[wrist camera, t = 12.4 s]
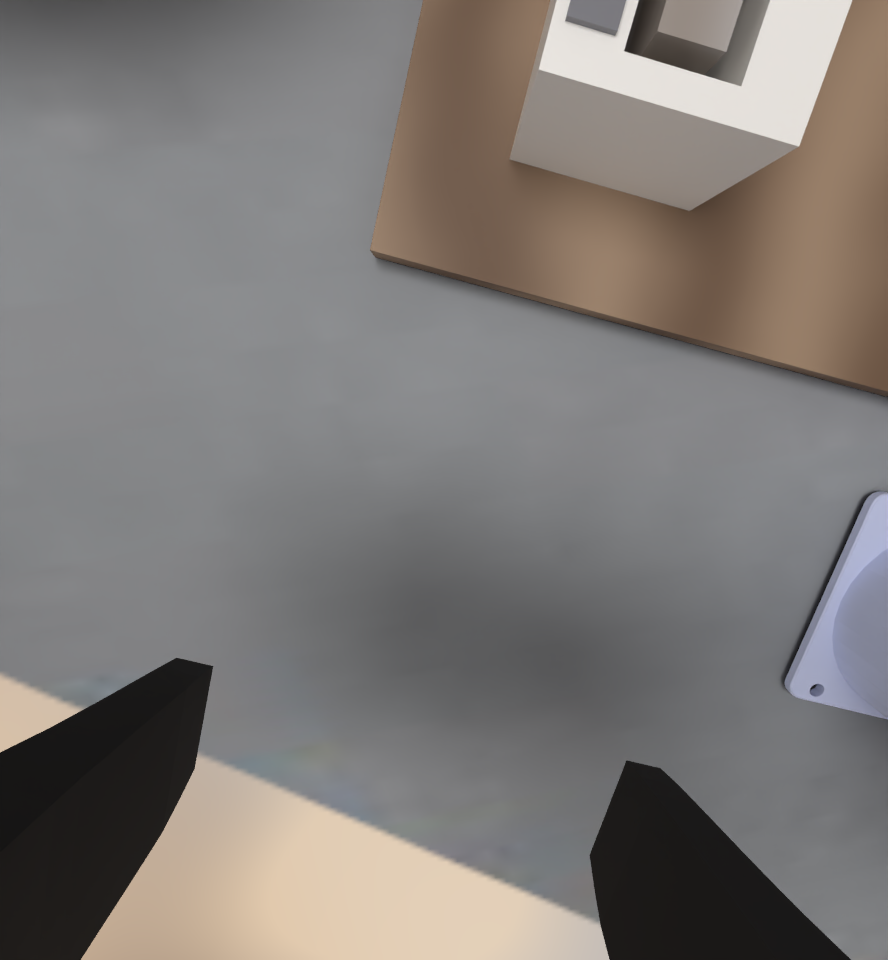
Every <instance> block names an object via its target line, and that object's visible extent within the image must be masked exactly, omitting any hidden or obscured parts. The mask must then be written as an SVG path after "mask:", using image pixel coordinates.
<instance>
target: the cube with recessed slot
mask: <svg viewBox="0 0 888 960" xmlns="http://www.w3.org/2000/svg"><path fill="white" fill-rule="evenodd" d="M638 1H639V0H550V4H549V8H548V11H547V15H546V19H545V23H544V27H543V31H542V35H541V39H540V43H539V46H538V50H537V54H536V58H535V62H534V66H533V70H532V74H531V77H530V81H529V85H528V89H527V93H526V97H525V101H524V105H523V108H522V112H521V116H520V120H519V124H518V128H517V132H516V136H515V140H514V143H513V147H512V151H511V155H510V160H513V161H517V162H520V163H524V164H527V165H531V166H534V167H538V168H541V169H545V170H548V171H552V172H555V173H559V174H562V175H566V176H569V177H573V178H576V179H580V180H583V181H587V182H590V183H593V184H597V185H600V186H604V187H607V188H611V189H614V190H618V191H621V192H625V193H628V194H632V195H635V196H639V197H642V198H646V199H649V200H653V201H656V202H660V203H663V204H667V205H670V206H674V207H677V208H681V209H684V210H688V211H690V210H692V209H694V208H695V207H697V206H699V205H701V204H702V203H704V202H706V201H707V200H709V199H711V198H712V197H714V196H716V195H718V194H719V193H721V192H723V191H724V190H726V189H728V188H730V187H731V186H733V185H735V184H736V183H738V182H740V181H741V180H743V179H745V178H747V177H748V176H750V175H752V174H753V173H755V172H757V171H758V170H760V169H762V168H764V167H765V166H767V165H769V164H770V163H772V162H774V161H775V160H777V159H779V158H781V157H782V156H784V155H786V154H787V153H789V152H791V151H792V150H794V149H796V148H798V147H799V145H800V143H801V140H802V137H803V134H804V132H805V129H806V126H807V124H808V121H809V118H810V115H811V113H812V110H813V107H814V104H815V102H816V99H817V96H818V93H819V91H820V88H821V85H822V82H823V80H824V77H825V74H826V71H827V69H828V66H829V63H830V60H831V58H832V55H833V52H834V49H835V47H836V44H837V41H838V38H839V36H840V33H841V30H842V27H843V25H844V22H845V19H846V17H847V14H848V11H849V8H850V6H851V3H852V0H743V2H742V6H741V9H740V12H739V15H738V18H737V21H736V24H735V27H734V30H733V33H732V36H731V39H730V42H729V45H728V48H727V52H726V53H725V54H724V55H723V56H722V57H721V58H720V59H719V61H718V62H717V63H716V64H715V65H714V66H713V67H712V68H711V69H710V70H709V71H708V72H707V73H706V75H701V74H698V73H695V72H691V71H688V70H685V69H681V68H678V67H675V66H671V65H668V64H665V63H661V62H658V61H655V60H651V59H648V58H645V57H642V56H638V55H635V54H632V53H628V52H625V51H624V50H625V46H626V43H627V39H628V36H629V32H630V29H631V25H632V22H633V18H634V15H635V11H636V8H637V5H638Z"/></svg>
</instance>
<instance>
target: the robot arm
mask: <svg viewBox="0 0 888 960" xmlns="http://www.w3.org/2000/svg"><path fill="white" fill-rule="evenodd" d="M212 669H213V666H210V665H206V664H201V663H197V662H193V661H188V660H184V659H179V658H176V659H174V660H172V661H170V662H168V663H166V664H164V665H163V666H161V667H159V668H157V669H155V670H154V671H152V672H150V673H148V674H146V675H145V676H143V677H141V678H139V679H138V680H136V681H134V682H132V683H131V684H129V685H127V686H125V687H124V688H122V689H120V690H118V691H116V692H115V693H113V694H111V695H109V696H108V697H106V698H104V699H102V700H100V701H99V702H97V703H95V704H93V705H91V706H89V707H88V708H86V709H84V710H82V711H80V712H78V713H77V714H75V715H73V716H71V717H69V718H67V719H65V720H64V721H62V722H60V723H58V724H56V725H54V726H53V727H51V728H49V729H47V730H45V731H43V732H41V733H39V734H37V735H35V736H33V737H31V738H29V739H27V740H25V741H23V742H21V743H19V744H17V745H14V746H12V747H10V748H9V749H7V750H5V751H2V752H1V753H0V960H81V958H82V956H83V955H84V954H85V952H86V951H87V949H88V947H89V946H90V944H91V943H92V941H93V940H94V938H95V937H96V935H97V933H98V932H99V930H100V929H101V927H102V926H103V924H104V923H105V921H106V919H107V918H108V916H109V915H110V913H111V912H112V910H113V909H114V907H115V906H116V904H117V902H118V901H119V899H120V898H121V896H122V895H123V893H124V892H125V890H126V888H127V887H128V886H129V884H130V882H131V881H132V879H133V878H134V876H135V875H136V873H137V871H138V870H139V868H140V866H141V865H142V864H143V862H144V860H145V859H146V857H147V856H148V854H149V853H150V851H151V850H152V848H153V846H154V845H155V843H156V842H157V840H158V838H159V837H160V835H161V833H162V832H163V830H164V828H165V826H166V824H167V822H168V820H169V818H170V816H171V814H172V813H173V811H174V809H175V806H176V805H177V803H178V801H179V799H180V797H181V795H182V793H183V791H184V789H185V787H186V785H187V783H188V781H189V779H190V777H191V775H192V773H193V771H194V769H195V763H196V758H197V752H198V746H199V741H200V735H201V730H202V724H203V719H204V713H205V708H206V702H207V697H208V691H209V686H210V680H211V675H212ZM815 684H817V686H816V687H815V688H814V689H812V690H810V688H811V687H812V686H813V685H815ZM785 687H786V689H787V690H788V691H789V692H790V693H791V694H792V695H793V696H794V697H797V698H800V699H804V700H808V701H812V702H816V703H821V704H825V705H829V706H833V707H837V708H841V709H846V710H850V711H854V712H858V713H862V714H867V715H871V716H875V717H879V718H883V719H888V492H884V491H878V492H875V493H873V494H871V495H870V496H869V497H868V498H867V499H866V501H865V503H864V505H863V507H862V509H861V511H860V514H859V516H858V518H857V520H856V523H855V525H854V527H853V529H852V532H851V534H850V536H849V538H848V540H847V543H846V545H845V547H844V549H843V552H842V554H841V556H840V558H839V561H838V563H837V565H836V567H835V569H834V572H833V574H832V576H831V578H830V581H829V583H828V585H827V587H826V590H825V592H824V594H823V596H822V598H821V601H820V603H819V605H818V607H817V610H816V612H815V614H814V616H813V619H812V621H811V623H810V625H809V627H808V630H807V632H806V634H805V636H804V639H803V641H802V643H801V645H800V647H799V650H798V652H797V654H796V656H795V659H794V661H793V663H792V665H791V668H790V670H789V672H788V674H787V676H786V679H785ZM590 860H591V867H592V874H593V881H594V888H595V895H596V901H597V906H598V912H599V918H600V924H601V928H602V932H603V936H604V939H605V944H606V947H607V951H608V955H609V959H610V960H851V959H850V958H849V957H848V956H847V955H845V954H844V953H843V952H842V951H841V950H840V949H839V948H838V947H837V946H836V945H835V944H834V943H833V942H832V941H831V940H830V939H829V938H828V937H827V936H826V935H825V934H824V933H823V932H822V931H821V930H820V929H818V928H817V927H816V926H815V925H814V924H813V923H812V922H811V921H810V920H809V919H808V918H807V917H806V916H805V915H804V914H803V913H802V912H801V911H800V910H799V909H798V908H797V907H796V906H795V905H794V904H793V903H792V902H791V901H790V900H789V899H788V898H787V897H786V896H785V895H784V894H783V893H782V892H781V891H780V890H779V889H778V888H777V887H776V886H775V885H774V884H773V883H772V882H771V881H770V880H769V879H768V878H767V877H766V876H765V875H764V874H763V873H762V872H761V870H760V869H759V868H758V867H757V866H756V865H755V864H754V863H753V862H752V861H751V860H750V859H749V858H748V857H747V856H746V855H745V854H744V853H743V852H742V851H741V850H740V849H739V848H738V847H737V846H736V845H735V843H734V842H733V841H732V840H731V839H730V838H729V837H728V836H727V835H726V834H725V833H724V832H723V831H722V830H721V829H720V828H719V827H718V826H717V825H716V824H715V823H714V821H713V820H712V819H711V818H710V817H709V816H708V815H707V814H706V813H705V812H704V811H703V810H702V809H701V808H700V807H699V806H698V805H697V804H696V803H695V802H694V801H693V800H692V799H691V798H690V797H689V796H688V795H687V793H686V792H685V791H684V790H683V789H682V788H681V787H680V786H679V785H678V784H676V783H675V782H674V781H673V780H672V779H671V778H670V777H669V776H668V775H667V774H666V773H665V772H664V771H663V770H662V769H660V768H657V767H652V766H648V765H644V764H639V763H635V762H630V761H626V763H625V766H624V769H623V771H622V774H621V776H620V779H619V781H618V784H617V787H616V789H615V792H614V794H613V797H612V799H611V802H610V805H609V807H608V810H607V812H606V815H605V817H604V820H603V822H602V825H601V828H600V830H599V833H598V835H597V838H596V840H595V843H594V846H593V848H592V851H591V853H590Z"/></svg>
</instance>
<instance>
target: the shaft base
mask: <svg viewBox="0 0 888 960" xmlns="http://www.w3.org/2000/svg"><path fill="white" fill-rule="evenodd" d="M742 2H743V0H639V1H638V5H637V8H636V11H635V15H634V18H633V22H632V25H631V29H630V32H629V36H628V39H627V43H626V46H625V50H624V51H625V52H628V53H632V54H635V55H638V56H642V57H645V58H648V59H651V60H655V61H658V62H661V63H665V64H668V65H671V66H675V67H678V68H681V69H685V70H688V71H691V72H695V73H698V74H701V75H706V73H707V72H708V71H709V70H710V69H711V68H712V67H713V66H714V65H715V64H716V63H717V62H718V61H719V59H720V58H721V57H722V56H723V55H724V54H725V53H726V52H727V48H728V45H729V42H730V39H731V36H732V33H733V30H734V27H735V24H736V21H737V18H738V15H739V12H740V9H741V6H742ZM549 4H550V0H423V4H422V8H421V13H420V18H419V22H418V27H417V32H416V36H415V41H414V46H413V51H412V55H411V60H410V65H409V69H408V74H407V79H406V83H405V88H404V93H403V98H402V102H401V107H400V112H399V116H398V121H397V126H396V130H395V135H394V140H393V144H392V149H391V154H390V159H389V163H388V168H387V173H386V177H385V182H384V187H383V191H382V196H381V201H380V206H379V210H378V215H377V220H376V224H375V229H374V234H373V238H372V243H371V248H370V251H371V252H372V253H373V255H374V256H375V257H377V258H380V259H384V260H388V261H391V262H395V263H399V264H402V265H406V266H410V267H413V268H417V269H421V270H424V271H428V272H432V273H435V274H439V275H443V276H446V277H450V278H454V279H457V280H461V281H465V282H468V283H472V284H476V285H479V286H483V287H487V288H490V289H494V290H498V291H501V292H505V293H509V294H512V295H516V296H520V297H523V298H527V299H530V300H534V301H538V302H541V303H545V304H549V305H552V306H556V307H560V308H563V309H567V310H571V311H574V312H578V313H582V314H585V315H589V316H593V317H596V318H600V319H604V320H607V321H611V322H615V323H618V324H622V325H626V326H629V327H633V328H637V329H640V330H644V331H648V332H651V333H655V334H659V335H662V336H666V337H670V338H673V339H677V340H681V341H684V342H688V343H692V344H695V345H699V346H703V347H706V348H710V349H714V350H717V351H721V352H725V353H728V354H732V355H736V356H739V357H743V358H747V359H750V360H754V361H758V362H761V363H765V364H769V365H772V366H776V367H780V368H783V369H787V370H791V371H794V372H798V373H802V374H805V375H809V376H813V377H816V378H820V379H824V380H827V381H831V382H835V383H838V384H842V385H846V386H849V387H853V388H857V389H860V390H864V391H867V392H871V393H875V394H878V395H882V396H886V397H888V0H852V3H851V6H850V8H849V11H848V14H847V17H846V19H845V22H844V25H843V27H842V30H841V33H840V36H839V38H838V41H837V44H836V47H835V49H834V52H833V55H832V58H831V60H830V63H829V66H828V69H827V71H826V74H825V77H824V80H823V82H822V85H821V88H820V91H819V93H818V96H817V99H816V102H815V104H814V107H813V110H812V113H811V115H810V118H809V121H808V124H807V126H806V129H805V132H804V134H803V137H802V140H801V143H800V145H799V147H798V148H796V149H794V150H792V151H791V152H789V153H787V154H786V155H784V156H782V157H781V158H779V159H777V160H775V161H774V162H772V163H770V164H769V165H767V166H765V167H764V168H762V169H760V170H758V171H757V172H755V173H753V174H752V175H750V176H748V177H747V178H745V179H743V180H741V181H740V182H738V183H736V184H735V185H733V186H731V187H730V188H728V189H726V190H724V191H723V192H721V193H719V194H718V195H716V196H714V197H712V198H711V199H709V200H707V201H706V202H704V203H702V204H701V205H699V206H697V207H695V208H694V209H692V210H690V211H688V210H684V209H681V208H677V207H674V206H670V205H667V204H663V203H660V202H656V201H653V200H649V199H646V198H642V197H639V196H635V195H632V194H628V193H625V192H621V191H618V190H614V189H611V188H607V187H604V186H600V185H597V184H593V183H590V182H587V181H583V180H580V179H576V178H573V177H569V176H566V175H562V174H559V173H555V172H552V171H548V170H545V169H541V168H538V167H534V166H531V165H527V164H524V163H520V162H517V161H513V160H510V155H511V151H512V147H513V143H514V140H515V136H516V132H517V128H518V124H519V120H520V116H521V112H522V108H523V105H524V101H525V97H526V93H527V89H528V85H529V81H530V77H531V74H532V70H533V66H534V62H535V58H536V54H537V50H538V46H539V43H540V39H541V35H542V31H543V27H544V23H545V19H546V15H547V11H548V8H549Z"/></svg>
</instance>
